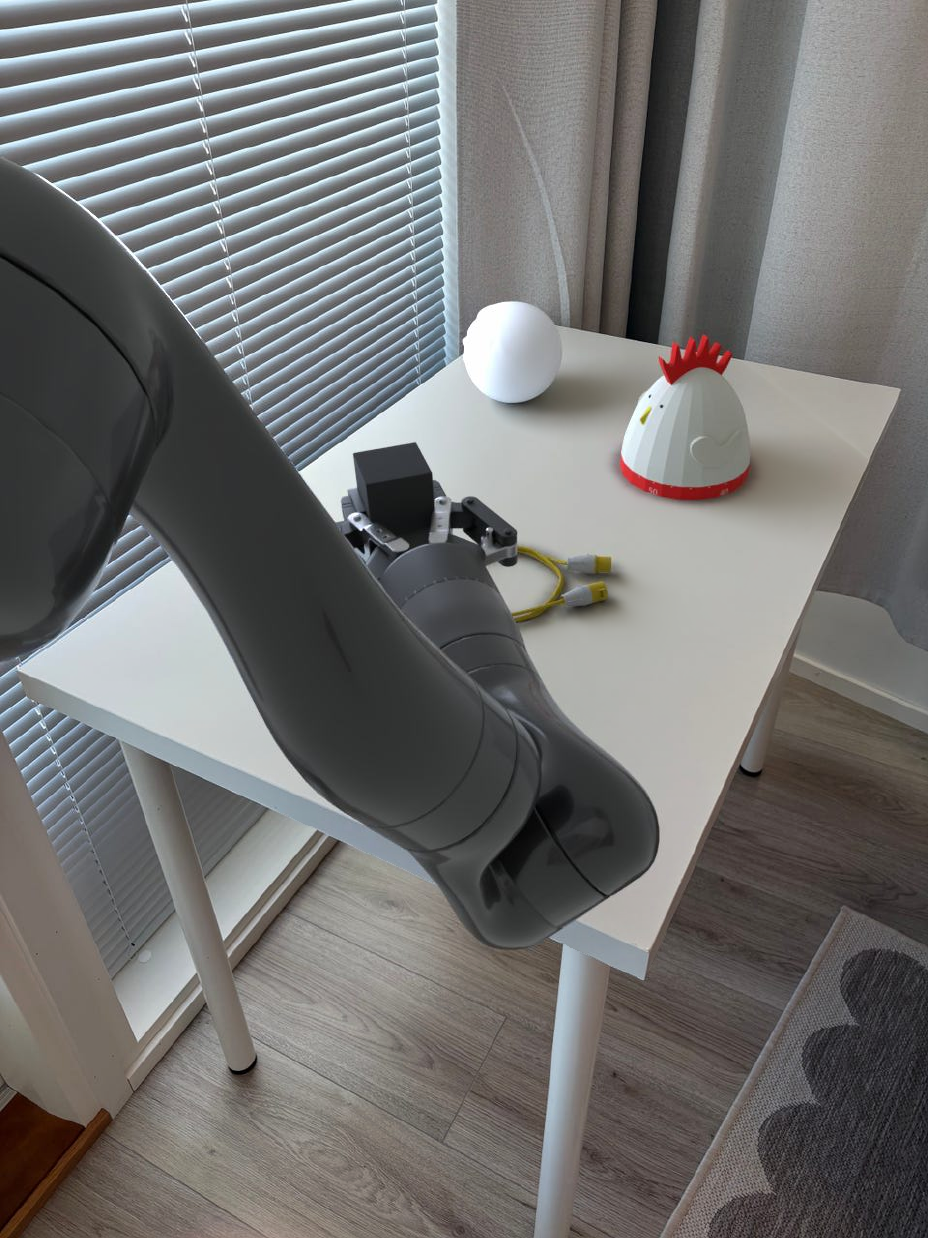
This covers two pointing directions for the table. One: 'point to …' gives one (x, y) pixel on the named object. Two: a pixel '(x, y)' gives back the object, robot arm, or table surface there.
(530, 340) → the decorative ball
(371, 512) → the tall dark pillar
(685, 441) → the kitchen timer
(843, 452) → the table surface
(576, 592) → the yellow coiled cord
